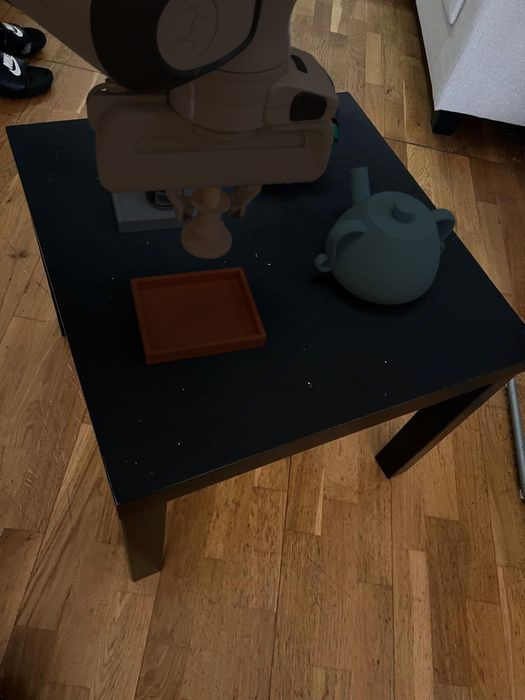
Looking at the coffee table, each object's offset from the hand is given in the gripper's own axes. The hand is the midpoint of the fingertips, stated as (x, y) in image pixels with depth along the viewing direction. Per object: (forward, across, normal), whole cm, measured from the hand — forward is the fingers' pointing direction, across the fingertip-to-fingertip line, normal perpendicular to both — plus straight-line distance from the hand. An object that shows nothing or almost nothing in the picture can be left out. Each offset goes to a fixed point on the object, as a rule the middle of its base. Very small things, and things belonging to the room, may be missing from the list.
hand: (209, 214), depth 52 cm
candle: (+4, 0, 0) cm, 4 cm away
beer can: (+16, 0, +21) cm, 27 cm away
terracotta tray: (+17, 0, 0) cm, 17 cm away
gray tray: (+17, 0, +21) cm, 27 cm away
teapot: (+17, +26, +6) cm, 32 cm away
